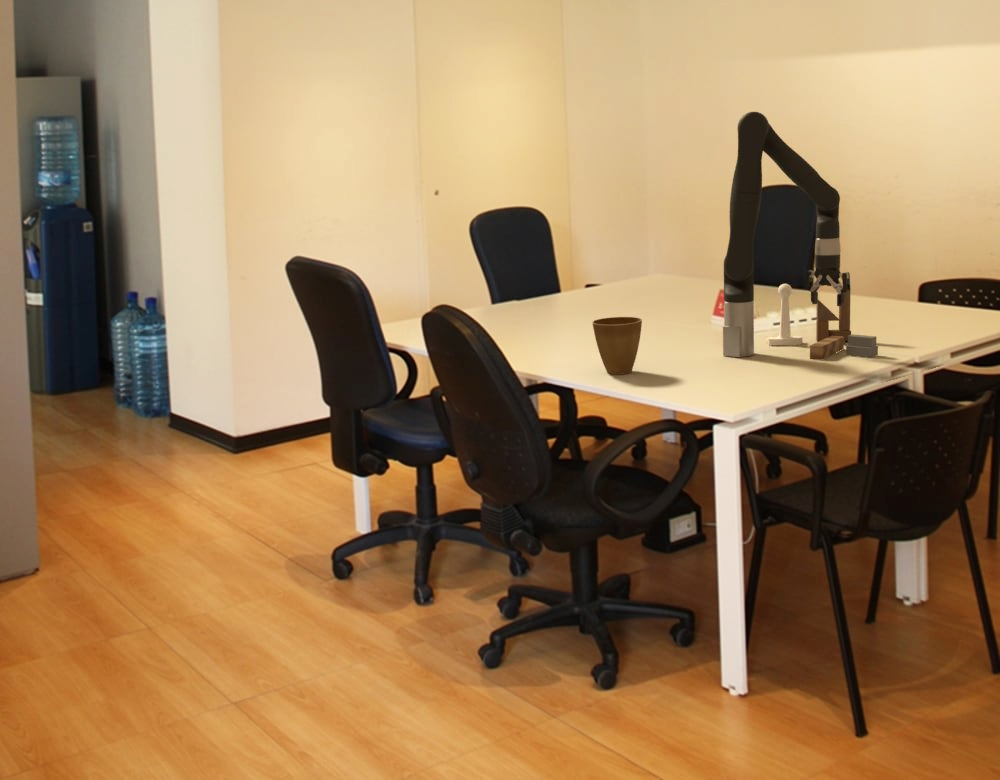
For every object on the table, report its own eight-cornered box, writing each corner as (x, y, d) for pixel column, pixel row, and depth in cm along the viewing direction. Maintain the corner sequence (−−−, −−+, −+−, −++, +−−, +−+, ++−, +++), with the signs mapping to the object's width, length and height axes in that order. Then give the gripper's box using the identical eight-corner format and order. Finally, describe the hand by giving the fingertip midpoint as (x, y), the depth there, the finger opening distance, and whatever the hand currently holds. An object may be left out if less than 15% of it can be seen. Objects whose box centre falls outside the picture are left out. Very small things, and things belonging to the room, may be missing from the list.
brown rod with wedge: (816, 340, 412) (816, 286, 408) (849, 340, 411) (850, 285, 407) (817, 342, 409) (817, 288, 405) (851, 342, 407) (851, 287, 403)
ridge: (869, 357, 381) (870, 338, 380) (846, 355, 386) (846, 336, 385) (877, 355, 384) (878, 336, 383) (854, 352, 390) (854, 333, 388)
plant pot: (639, 366, 386) (637, 315, 382) (646, 375, 371) (645, 322, 368) (591, 368, 385) (589, 317, 382) (596, 378, 371) (595, 325, 367)
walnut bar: (822, 360, 382) (822, 346, 381) (809, 359, 384) (809, 345, 383) (843, 350, 396) (843, 336, 395) (831, 349, 398) (831, 335, 397)
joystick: (770, 346, 407) (769, 285, 402) (764, 342, 414) (763, 282, 410) (803, 344, 407) (803, 283, 403) (797, 340, 414) (797, 280, 410)
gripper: (800, 253, 385) (800, 305, 389) (842, 254, 375) (842, 308, 379) (813, 250, 390) (813, 301, 394) (854, 252, 381) (854, 304, 384)
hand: (827, 304), depth 386 cm, fingers open, 8 cm apart
